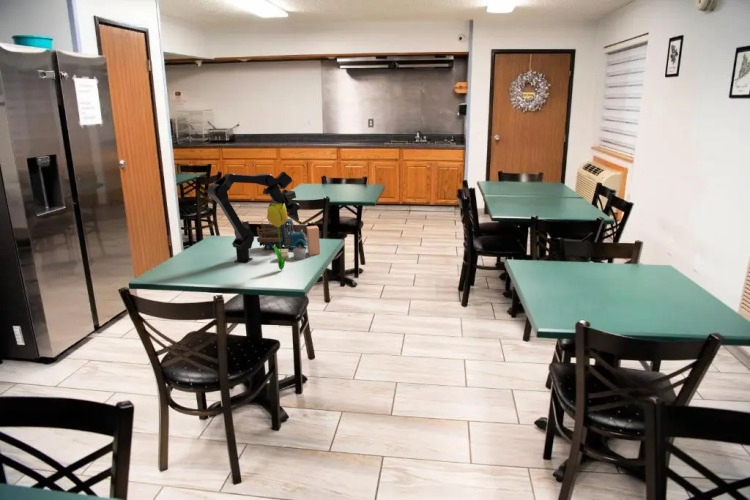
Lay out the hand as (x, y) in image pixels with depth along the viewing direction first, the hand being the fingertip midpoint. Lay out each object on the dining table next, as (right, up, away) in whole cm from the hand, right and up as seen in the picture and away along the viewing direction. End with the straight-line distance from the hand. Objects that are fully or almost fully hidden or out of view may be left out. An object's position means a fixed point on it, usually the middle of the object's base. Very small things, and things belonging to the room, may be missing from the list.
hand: (292, 219), depth 265 cm
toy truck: (-5, -15, +5) cm, 16 cm away
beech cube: (-2, -20, -15) cm, 25 cm away
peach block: (+11, -17, -6) cm, 21 cm away
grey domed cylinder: (+6, -19, -13) cm, 24 cm away
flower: (0, -25, -32) cm, 40 cm away
